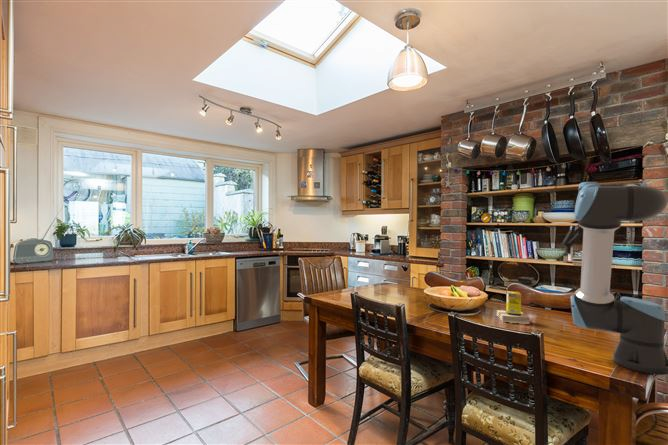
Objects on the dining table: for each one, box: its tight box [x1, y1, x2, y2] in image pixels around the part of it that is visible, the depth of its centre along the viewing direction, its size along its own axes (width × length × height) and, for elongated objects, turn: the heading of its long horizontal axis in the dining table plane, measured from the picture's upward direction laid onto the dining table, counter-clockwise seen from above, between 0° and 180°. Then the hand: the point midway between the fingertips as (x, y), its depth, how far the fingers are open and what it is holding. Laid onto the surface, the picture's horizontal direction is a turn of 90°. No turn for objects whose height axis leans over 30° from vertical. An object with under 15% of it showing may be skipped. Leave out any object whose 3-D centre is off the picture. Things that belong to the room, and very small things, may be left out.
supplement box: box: [505, 290, 522, 316], centre depth 175 cm, size 6×6×11 cm
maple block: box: [496, 309, 530, 325], centre depth 175 cm, size 12×12×4 cm
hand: (586, 261), depth 158 cm, fingers open, 13 cm apart
